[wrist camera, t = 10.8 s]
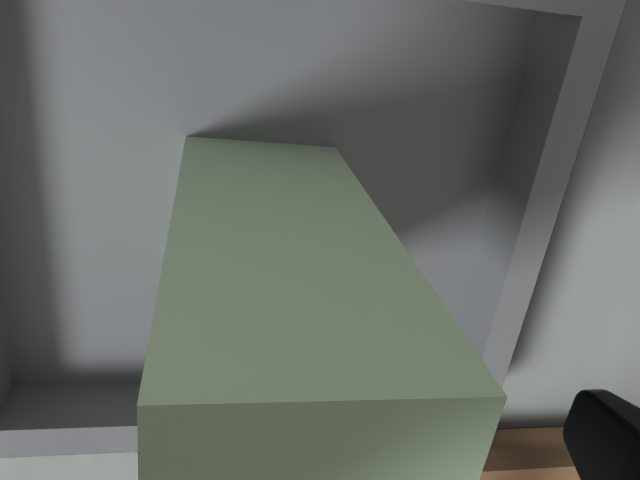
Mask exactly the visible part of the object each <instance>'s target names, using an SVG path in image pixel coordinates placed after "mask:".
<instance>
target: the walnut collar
mask: <svg viewBox="0 0 640 480" xmlns="http://www.w3.org/2000/svg"><path fill="white" fill-rule="evenodd" d="M479 480H580V478H579V476H578V473H577V471H576V469H575V466H574V464H573V462H572V460H571V457H570V455H569V453H568V450H567V448H566V446H565V443H564V439H563V427H542V428H519V429H496V432H495V435H494V438H493V441H492V444H491V447H490V450H489V453H488V456H487V459H486V462H485V465H484V468H483V470H482V473H481V476H480V479H479Z"/></svg>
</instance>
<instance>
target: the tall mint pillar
mask: <svg viewBox="0 0 640 480" xmlns="http://www.w3.org/2000/svg"><path fill="white" fill-rule="evenodd" d="M506 399H507V396H506V394H505V393H504V391H503V390H502V388H501V387H500V385H499V384H498V383H497V381H496V380H495V378H494V377H493V375H492V374H491V372H490V371H489V369H488V368H487V367H486V365H485V364H484V362H483V361H482V359H481V358H480V356H479V355H478V353H477V352H476V351H475V349H474V348H473V346H472V345H471V343H470V342H469V340H468V339H467V337H466V336H465V335H464V333H463V332H462V330H461V329H460V327H459V326H458V324H457V323H456V322H455V320H454V319H453V317H452V316H451V314H450V313H449V311H448V310H447V308H446V307H445V306H444V304H443V303H442V301H441V300H440V298H439V297H438V295H437V294H436V292H435V291H434V290H433V288H432V287H431V285H430V284H429V282H428V281H427V279H426V278H425V276H424V275H423V274H422V272H421V271H420V269H419V268H418V266H417V265H416V263H415V262H414V261H413V259H412V258H411V256H410V255H409V253H408V252H407V250H406V249H405V247H404V246H403V245H402V243H401V242H400V240H399V239H398V237H397V236H396V234H395V233H394V231H393V230H392V229H391V227H390V226H389V224H388V223H387V221H386V220H385V218H384V217H383V215H382V214H381V213H380V211H379V210H378V208H377V207H376V205H375V204H374V202H373V201H372V199H371V198H370V197H369V195H368V194H367V192H366V191H365V189H364V188H363V186H362V185H361V184H360V182H359V181H358V179H357V178H356V176H355V175H354V173H353V172H352V170H351V169H350V168H349V166H348V165H347V163H346V162H345V160H344V159H343V157H342V156H341V154H340V153H339V152H338V150H337V149H336V147H326V146H312V145H299V144H285V143H271V142H258V141H244V140H230V139H217V138H203V137H189V136H186V138H185V143H184V149H183V154H182V160H181V165H180V171H179V176H178V182H177V187H176V193H175V198H174V204H173V209H172V215H171V220H170V226H169V231H168V237H167V242H166V248H165V253H164V259H163V264H162V270H161V275H160V281H159V286H158V292H157V297H156V303H155V308H154V314H153V319H152V325H151V330H150V336H149V341H148V347H147V352H146V358H145V363H144V369H143V374H142V380H141V385H140V391H139V396H138V402H137V437H138V479H139V480H479V479H480V476H481V473H482V470H483V468H484V465H485V462H486V459H487V456H488V453H489V450H490V447H491V444H492V441H493V438H494V435H495V432H496V429H497V426H498V423H499V420H500V417H501V414H502V411H503V408H504V405H505V402H506Z"/></svg>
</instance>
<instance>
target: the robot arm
mask: <svg viewBox="0 0 640 480" xmlns="http://www.w3.org/2000/svg"><path fill="white" fill-rule="evenodd" d="M563 439H564V443H565V446H566V448H567V450H568V453H569V455H570V457H571V460H572V462H573V464H574V466H575V469H576V471H577V473H578V476H579V478H580V480H640V408H638V407H637V406H635V405H633V404H631V403H629V402H628V401H626V400H624V399H622V398H620V397H618V396H617V395H615V394H613V393H611V392H609V391H607V390H603V389H592V390H582V391H580V392H579V393H578V394H577V395H576V397H575V399H574V401H573V404H572V406H571V409H570V411H569V414H568V416H567V419H566V421H565V424H564V427H563Z"/></svg>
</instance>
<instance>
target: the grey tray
mask: <svg viewBox="0 0 640 480" xmlns="http://www.w3.org/2000/svg"><path fill="white" fill-rule="evenodd" d="M626 1H627V0H0V458H10V457H33V456H55V455H77V454H100V453H122V452H138V437H137V402H138V396H139V391H140V385H141V380H142V374H143V369H144V363H145V358H146V352H147V347H148V341H149V336H150V330H151V325H152V319H153V314H154V308H155V303H156V297H157V292H158V286H159V281H160V275H161V270H162V264H163V259H164V253H165V248H166V242H167V237H168V231H169V226H170V220H171V215H172V209H173V204H174V198H175V193H176V187H177V182H178V176H179V171H180V165H181V160H182V154H183V149H184V143H185V138H186V136H189V137H203V138H217V139H230V140H244V141H258V142H271V143H285V144H299V145H312V146H326V147H336V149H337V150H338V152H339V153H340V154H341V156H342V157H343V159H344V160H345V162H346V163H347V165H348V166H349V168H350V169H351V170H352V172H353V173H354V175H355V176H356V178H357V179H358V181H359V182H360V184H361V185H362V186H363V188H364V189H365V191H366V192H367V194H368V195H369V197H370V198H371V199H372V201H373V202H374V204H375V205H376V207H377V208H378V210H379V211H380V213H381V214H382V215H383V217H384V218H385V220H386V221H387V223H388V224H389V226H390V227H391V229H392V230H393V231H394V233H395V234H396V236H397V237H398V239H399V240H400V242H401V243H402V245H403V246H404V247H405V249H406V250H407V252H408V253H409V255H410V256H411V258H412V259H413V261H414V262H415V263H416V265H417V266H418V268H419V269H420V271H421V272H422V274H423V275H424V276H425V278H426V279H427V281H428V282H429V284H430V285H431V287H432V288H433V290H434V291H435V292H436V294H437V295H438V297H439V298H440V300H441V301H442V303H443V304H444V306H445V307H446V308H447V310H448V311H449V313H450V314H451V316H452V317H453V319H454V320H455V322H456V323H457V324H458V326H459V327H460V329H461V330H462V332H463V333H464V335H465V336H466V337H467V339H468V340H469V342H470V343H471V345H472V346H473V348H474V349H475V351H476V352H477V353H478V355H479V356H480V358H481V359H482V361H483V362H484V364H485V365H486V367H487V368H488V369H489V371H490V372H491V374H492V375H493V377H494V378H495V380H496V381H497V383H498V384H499V385H500V387H501V388H502V386H503V383H504V380H505V377H506V374H507V371H508V368H509V364H510V361H511V358H512V355H513V352H514V349H515V346H516V343H517V340H518V337H519V333H520V330H521V327H522V324H523V321H524V318H525V315H526V312H527V309H528V305H529V302H530V299H531V296H532V293H533V290H534V287H535V284H536V281H537V277H538V274H539V271H540V268H541V265H542V262H543V259H544V256H545V253H546V250H547V246H548V243H549V240H550V237H551V234H552V231H553V228H554V225H555V222H556V218H557V215H558V212H559V209H560V206H561V203H562V200H563V197H564V194H565V191H566V187H567V184H568V181H569V178H570V175H571V172H572V169H573V166H574V163H575V159H576V156H577V153H578V150H579V147H580V144H581V141H582V138H583V135H584V131H585V128H586V125H587V122H588V119H589V116H590V113H591V110H592V107H593V104H594V100H595V97H596V94H597V91H598V88H599V85H600V82H601V79H602V76H603V72H604V69H605V66H606V63H607V60H608V57H609V54H610V51H611V48H612V45H613V41H614V38H615V35H616V32H617V29H618V26H619V23H620V20H621V17H622V13H623V10H624V7H625V4H626Z"/></svg>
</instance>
